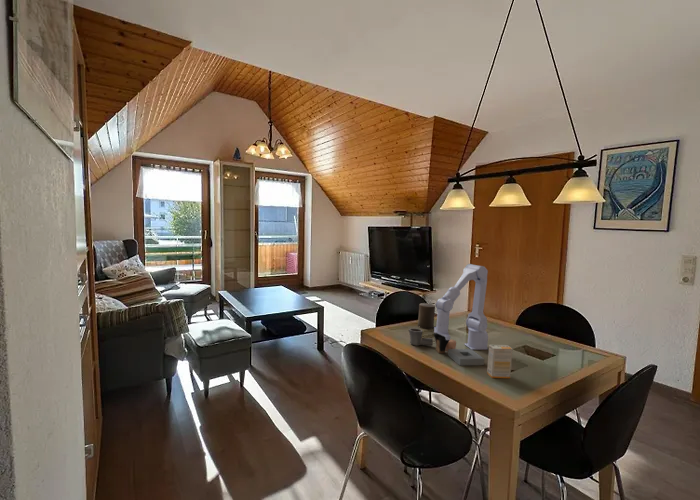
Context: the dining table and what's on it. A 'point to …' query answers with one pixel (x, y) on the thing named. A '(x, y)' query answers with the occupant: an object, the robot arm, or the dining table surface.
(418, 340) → the pipe
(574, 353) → the dining table surface
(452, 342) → the peach egg-shaped blob
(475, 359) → the block
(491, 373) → the supplement box
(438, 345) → the square peg
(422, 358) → the dining table surface
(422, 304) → the pillar candle
